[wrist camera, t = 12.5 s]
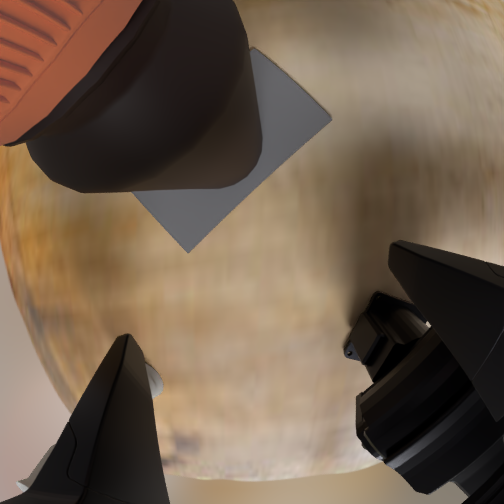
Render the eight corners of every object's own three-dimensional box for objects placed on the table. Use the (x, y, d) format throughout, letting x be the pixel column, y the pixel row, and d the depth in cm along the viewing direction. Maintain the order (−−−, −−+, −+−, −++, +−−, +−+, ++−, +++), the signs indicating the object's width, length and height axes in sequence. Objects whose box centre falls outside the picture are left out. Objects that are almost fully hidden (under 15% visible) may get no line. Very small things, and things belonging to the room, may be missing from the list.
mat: (331, 120, 19) (332, 119, 19) (189, 252, 22) (187, 253, 22) (254, 50, 18) (254, 48, 18) (122, 178, 21) (119, 178, 21)
